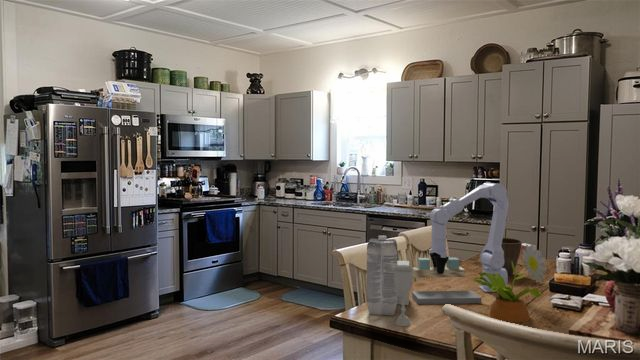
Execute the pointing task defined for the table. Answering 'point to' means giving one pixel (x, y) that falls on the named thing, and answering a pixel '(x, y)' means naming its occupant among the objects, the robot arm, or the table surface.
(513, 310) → the decorative plant
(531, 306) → the table surface
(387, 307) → the juice carton
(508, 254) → the plant pot
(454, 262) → the block
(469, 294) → the loading dock
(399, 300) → the supplement box
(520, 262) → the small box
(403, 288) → the chalice
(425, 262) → the block
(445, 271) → the beige bar
